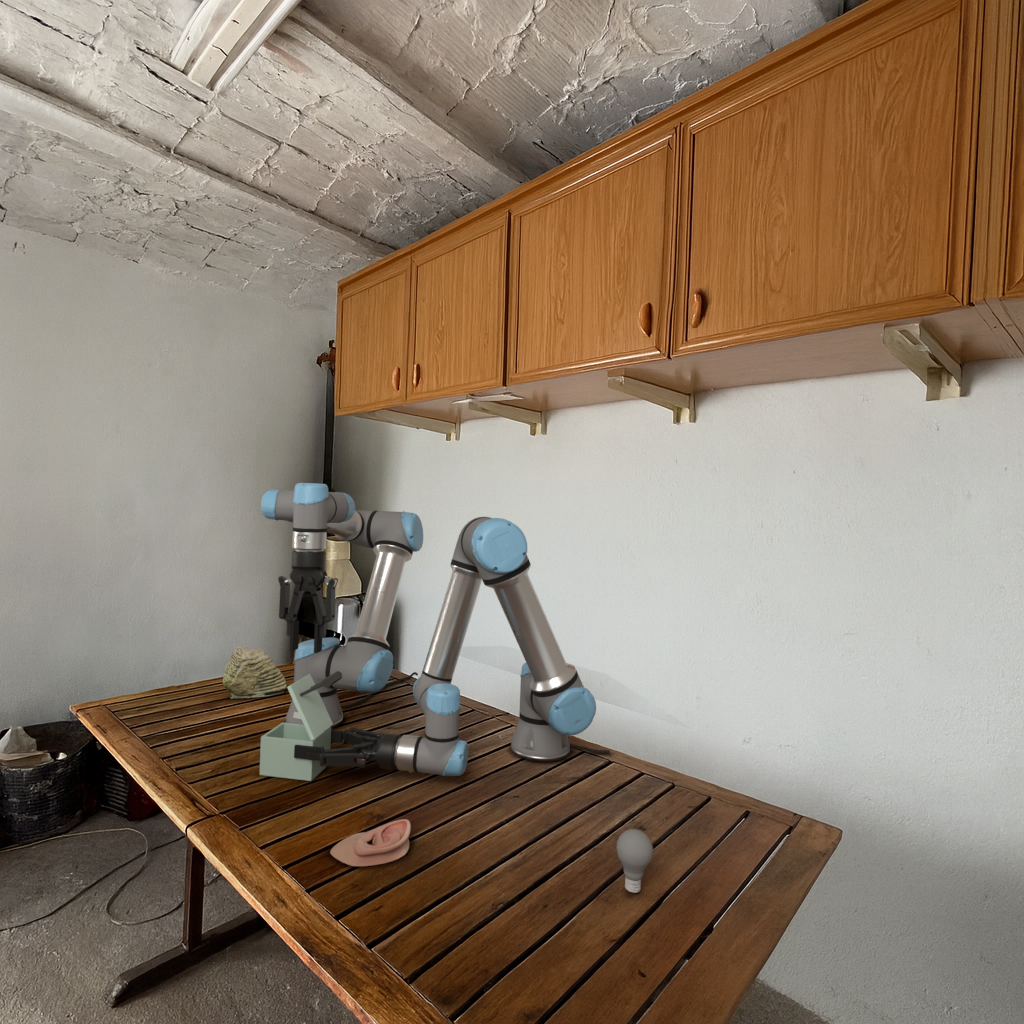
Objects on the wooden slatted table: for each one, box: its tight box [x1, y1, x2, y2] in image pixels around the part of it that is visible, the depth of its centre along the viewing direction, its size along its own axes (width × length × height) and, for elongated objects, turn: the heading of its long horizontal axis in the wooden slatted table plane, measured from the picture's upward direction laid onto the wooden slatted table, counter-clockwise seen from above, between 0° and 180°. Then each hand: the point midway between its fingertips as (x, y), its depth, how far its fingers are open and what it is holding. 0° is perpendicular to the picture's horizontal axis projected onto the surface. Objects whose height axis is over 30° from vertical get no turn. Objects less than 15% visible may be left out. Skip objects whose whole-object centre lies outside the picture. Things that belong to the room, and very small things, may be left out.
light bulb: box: [615, 828, 654, 894], centre depth 106 cm, size 6×6×10 cm
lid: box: [286, 671, 342, 741], centre depth 145 cm, size 13×10×9 cm
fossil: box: [222, 646, 288, 699], centre depth 198 cm, size 9×18×15 cm, turn 132°
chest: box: [259, 721, 332, 782], centre depth 146 cm, size 12×10×9 cm
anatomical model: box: [329, 818, 412, 867], centre depth 114 cm, size 13×4×12 cm
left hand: (305, 650), depth 146 cm, fingers open, 5 cm apart
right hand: (305, 742), depth 146 cm, fingers closed on chest, 10 cm apart
